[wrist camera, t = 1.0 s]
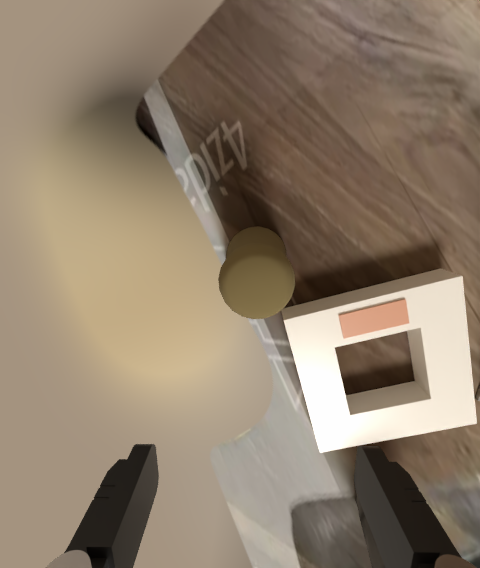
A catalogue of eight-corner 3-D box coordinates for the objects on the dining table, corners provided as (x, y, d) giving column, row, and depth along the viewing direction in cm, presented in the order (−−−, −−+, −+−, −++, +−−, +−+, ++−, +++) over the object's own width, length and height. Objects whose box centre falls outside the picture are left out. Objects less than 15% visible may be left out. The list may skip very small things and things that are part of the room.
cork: (214, 246, 28) (190, 272, 18) (267, 214, 27) (274, 220, 17) (246, 296, 30) (240, 347, 19) (297, 267, 29) (322, 304, 18)
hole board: (440, 268, 28) (463, 276, 25) (456, 403, 32) (478, 424, 29) (280, 309, 30) (283, 321, 27) (314, 431, 34) (320, 454, 31)
